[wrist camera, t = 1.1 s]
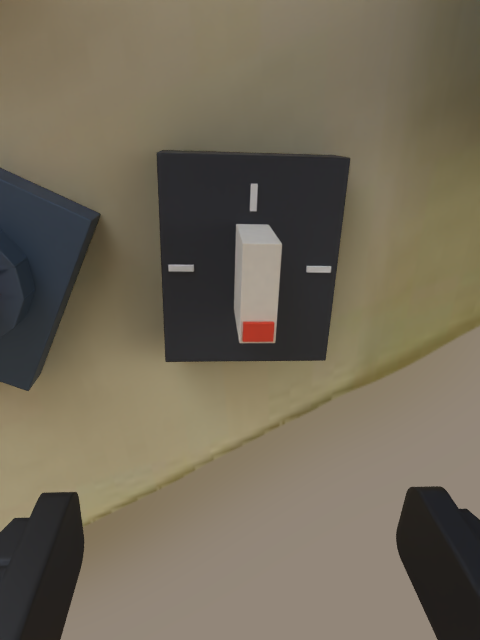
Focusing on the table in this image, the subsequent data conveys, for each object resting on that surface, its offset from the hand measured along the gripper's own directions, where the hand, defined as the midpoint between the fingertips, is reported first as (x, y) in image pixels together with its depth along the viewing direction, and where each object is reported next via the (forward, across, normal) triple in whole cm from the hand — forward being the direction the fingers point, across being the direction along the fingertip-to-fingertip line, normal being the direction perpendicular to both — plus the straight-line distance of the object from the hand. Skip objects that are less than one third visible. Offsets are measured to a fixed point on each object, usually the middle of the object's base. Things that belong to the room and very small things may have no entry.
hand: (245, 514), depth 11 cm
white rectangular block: (+16, -2, -2) cm, 16 cm away
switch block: (+19, +14, 0) cm, 24 cm away
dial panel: (+19, -2, -2) cm, 19 cm away
